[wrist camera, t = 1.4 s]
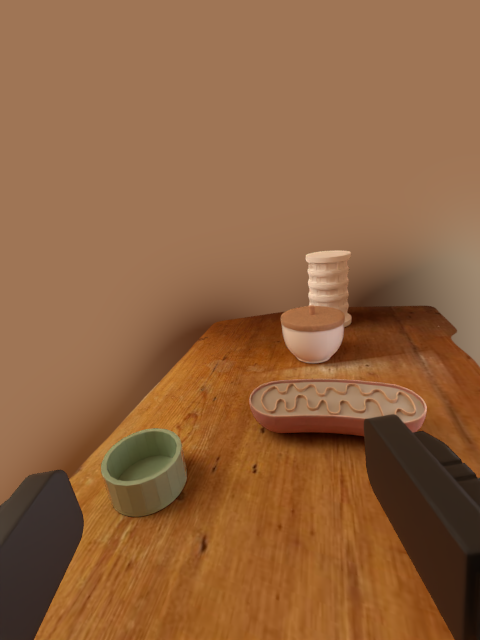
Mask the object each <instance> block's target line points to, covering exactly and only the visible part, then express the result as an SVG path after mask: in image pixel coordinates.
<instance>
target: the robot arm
mask: <svg viewBox="0 0 480 640" xmlns="http://www.w3.org/2000/svg"><path fill="white" fill-rule="evenodd" d="M364 440H365V454H366V467H367V473H368V477H369V481H370V484H371V486H372V489H373V491H374V493H375V495H376V497H377V499H378V501H379V502H380V504H381V506H382V508H383V510H384V511H385V513H386V515H387V517H388V519H389V521H390V522H391V524H392V526H393V528H394V530H395V531H396V533H397V535H398V537H399V539H400V541H401V542H402V544H403V546H404V548H405V550H406V551H407V553H408V555H409V557H410V559H411V561H412V562H413V564H414V566H415V568H416V570H417V571H418V573H419V575H420V577H421V579H422V581H423V582H424V584H425V586H426V588H427V590H428V591H429V593H430V595H431V597H432V599H433V601H434V602H435V604H436V606H437V608H438V610H439V611H440V613H441V615H442V617H443V619H444V621H445V622H446V624H447V626H448V628H449V630H450V631H451V633H452V635H453V637H454V639H455V640H480V478H477V477H476V474H475V473H474V472H473V471H472V470H471V469H470V468H469V467H468V466H467V465H466V464H465V463H462V461H461V459H460V458H459V457H458V456H457V455H456V454H455V453H454V452H453V451H452V450H451V449H450V448H449V447H448V446H447V445H446V444H445V443H443V442H442V441H440V440H438V439H436V438H434V437H433V436H431V435H429V434H427V433H425V432H424V431H419V432H412V431H411V430H410V429H409V428H408V427H407V426H406V425H405V424H404V422H403V421H402V420H401V419H400V418H399V417H398V416H397V415H395V414H391V415H385V416H379V417H373V418H368V419H365V420H364ZM83 526H84V520H83V514H82V511H81V509H80V506H79V504H78V501H77V499H76V496H75V493H74V491H73V488H72V486H71V483H70V481H69V478H68V476H67V474H66V473H65V472H64V471H63V470H55V471H49V472H43V473H37V474H32V475H29V476H28V477H27V478H26V479H25V480H24V481H23V482H22V483H21V485H20V486H19V487H18V488H17V489H16V491H15V492H14V493H13V494H12V496H11V497H10V498H9V499H8V500H7V501H5V502H4V503H3V504H2V505H1V506H0V640H34V638H35V636H36V634H37V631H38V629H39V627H40V625H41V623H42V621H43V619H44V617H45V615H46V612H47V610H48V608H49V606H50V604H51V602H52V600H53V598H54V596H55V593H56V591H57V589H58V587H59V585H60V583H61V581H62V579H63V576H64V574H65V572H66V570H67V568H68V566H69V564H70V562H71V560H72V557H73V555H74V553H75V551H76V549H77V547H78V545H79V543H80V540H81V537H82V533H83Z"/></svg>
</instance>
